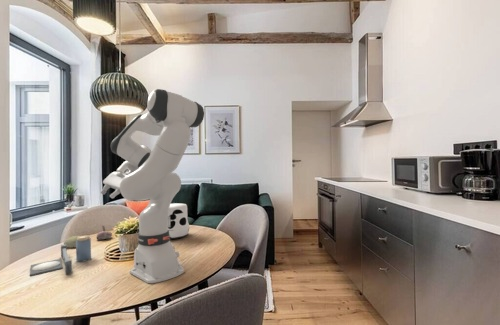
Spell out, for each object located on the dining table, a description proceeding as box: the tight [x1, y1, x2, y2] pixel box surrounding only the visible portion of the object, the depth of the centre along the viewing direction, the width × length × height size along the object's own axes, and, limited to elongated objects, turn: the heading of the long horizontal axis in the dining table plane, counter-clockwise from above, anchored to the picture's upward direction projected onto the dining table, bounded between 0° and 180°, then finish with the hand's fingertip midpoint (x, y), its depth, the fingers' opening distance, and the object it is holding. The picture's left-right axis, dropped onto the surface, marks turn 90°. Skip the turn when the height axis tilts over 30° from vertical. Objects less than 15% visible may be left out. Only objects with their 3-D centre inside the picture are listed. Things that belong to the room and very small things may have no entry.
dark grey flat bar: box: [60, 244, 73, 276], centre depth 107 cm, size 26×2×5 cm, turn 40°
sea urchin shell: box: [63, 235, 81, 249], centre depth 131 cm, size 9×8×8 cm
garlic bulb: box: [96, 224, 113, 241], centre depth 141 cm, size 8×7×8 cm
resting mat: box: [29, 258, 63, 277], centre depth 103 cm, size 12×10×1 cm
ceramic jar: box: [75, 235, 92, 263], centre depth 112 cm, size 6×6×10 cm
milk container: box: [168, 202, 190, 240], centre depth 143 cm, size 17×17×18 cm
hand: (106, 195), depth 118 cm, fingers open, 8 cm apart
